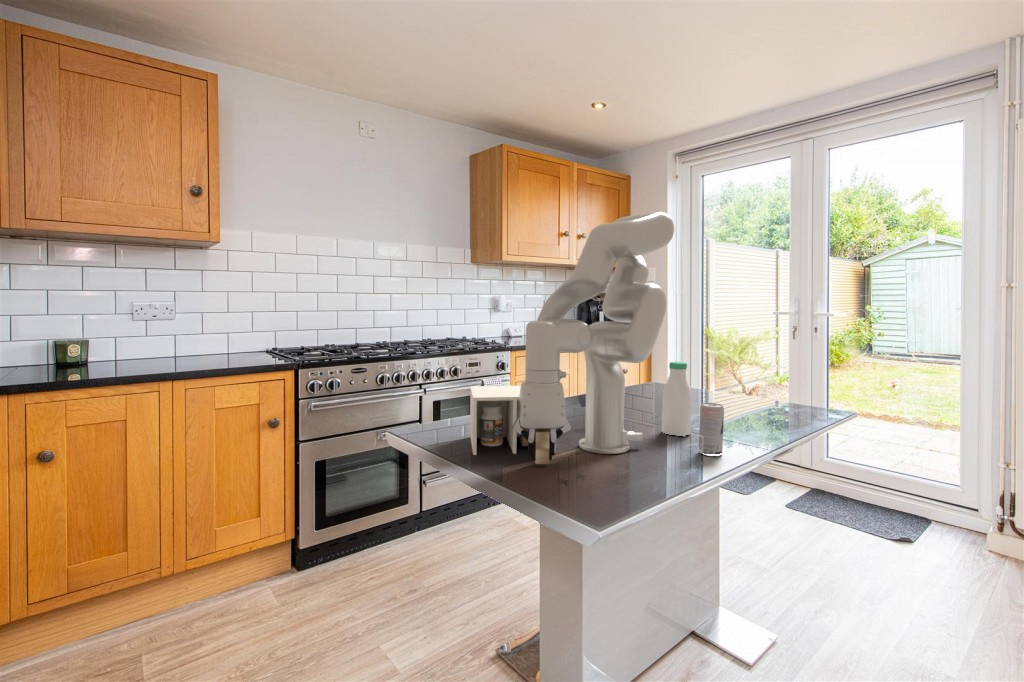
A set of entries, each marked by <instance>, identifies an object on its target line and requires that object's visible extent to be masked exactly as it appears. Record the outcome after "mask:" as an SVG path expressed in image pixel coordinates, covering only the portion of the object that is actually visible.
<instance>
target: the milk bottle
mask: <svg viewBox="0 0 1024 682" xmlns="http://www.w3.org/2000/svg"><path fill="white" fill-rule="evenodd" d="M668 368H669V374H668V375H669V376H668V378H667V379H666V380H667V381H666V382H665V384H664V386H663V392H662V404H661V405H662V407H661V409H662V410H661V433H662V432H663V433H662V434H664V433H665V434H664V435H666V434H669V435H688V434H690V435H691V433H692V432H691V431H692V429H691V428H692V408H693V407H692V405H693V404H692V402H693V401H692V400H693V399H692V398H693V396H692V393H693V392H692V387H691V385H690V383H689V380H688V378H687V371H688V370H687V369H688V364H687V362H686V361H685V362H684V361H670V362H669V367H668ZM669 435H668V436H669Z"/></svg>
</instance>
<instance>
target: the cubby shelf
mask: <svg viewBox="0 0 1024 682" xmlns="http://www.w3.org/2000/svg"><path fill="white" fill-rule="evenodd" d="M469 388H470V389H469V391H470V393H469V394H470V395H469V396H470V397H469V398H470V399H469V401H470V402H469V403H470V407H469V409H470V410H469V411H470V413H469V414H470V421H469V425H470V428H469V430H470V431H469V432H470V435H469V438H470V444H471V451H472V455H473V456H477V454H478V453H477V451H478V450H477V439H481V415H482V414H483V413H484V412H483V405H487V404H497V405H500V406H501V411H500V413H501V414H502V416H503V438H506V440H507V443H508V444H509V447H510V449H511V452H512V454H513V455H514V454H515V455H516V454H517V448H518V447H517V443H518V442H517V441H518V440H517V438H518V437H519V438H520V434H519V433H517V432H515V431H513V429H512V426H513V424H514V423H515V421H516V419H517V417H518V408H519V396H520V388H521V385H478V386H476V385H474V386H472V385H471V386H470V387H469ZM556 448H557V441H556V442H555V453H557V452H556V451H557V449H556Z"/></svg>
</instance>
